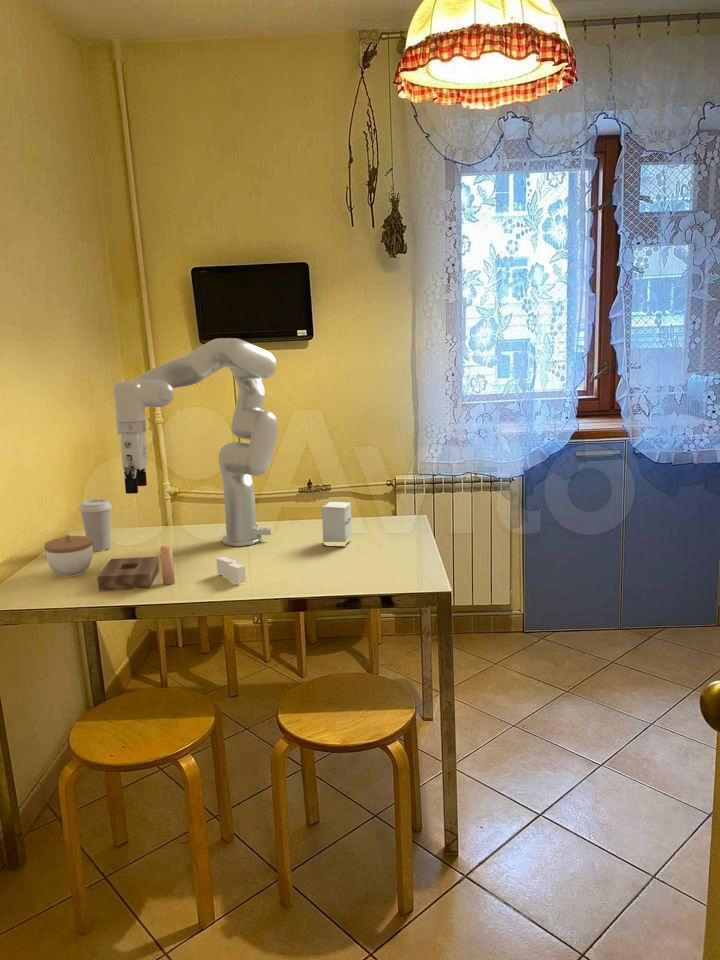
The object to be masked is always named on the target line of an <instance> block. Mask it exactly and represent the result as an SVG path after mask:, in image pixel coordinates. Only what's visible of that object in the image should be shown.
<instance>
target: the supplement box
mask: <svg viewBox="0 0 720 960" xmlns="http://www.w3.org/2000/svg"><path fill="white" fill-rule="evenodd" d="M351 505H352V502H343V501H342V502H341V501H328V502H327V503H326V504H325V505H324V506H322V507H321V511H322V512H321V513H322V515H321V516H322V517H321V518H322V519H321V520H322V522H321V523H322V543H323V542H346V540H347V539H348V538H349V537H350V536H352V506H351Z"/></svg>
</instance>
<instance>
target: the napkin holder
mask: <svg viewBox="0 0 720 960" xmlns="http://www.w3.org/2000/svg"><path fill="white" fill-rule="evenodd" d="M216 570H217V571H216V572H217V575H218V574H219V575H222V576H225V577H228V579H227V580H229V581H231V582H234V583H236V584H240V583H243V582H247V580H246V566H245V565H243V564H240V563H239V561H238V560H235V559H232V558H229V557H227V556H219V557H216ZM229 581H228V582H229Z"/></svg>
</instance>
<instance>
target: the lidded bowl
mask: <svg viewBox="0 0 720 960" xmlns="http://www.w3.org/2000/svg"><path fill="white" fill-rule="evenodd" d="M92 544H93V541H92V539H91V538H90V537H86V535H70V534H65V536H63V537H57V538H54V539H51V540H49V541H46V542H45V543H44V550H45V555H46V560H47V564H48V566H49V567H50V569H51V570H52V571H53V572H54V573H56V574H58V576H59V577H61V578H70V576H73V577H77V575H78V576H80V575H79V574H81V575H83V574H84V572H85V573H86V570H87V569H88V568H89V567H90V566H91V563H92V561H93V556H94V554H93V553H94V552H93V546H92ZM82 573H83V574H82Z"/></svg>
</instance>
